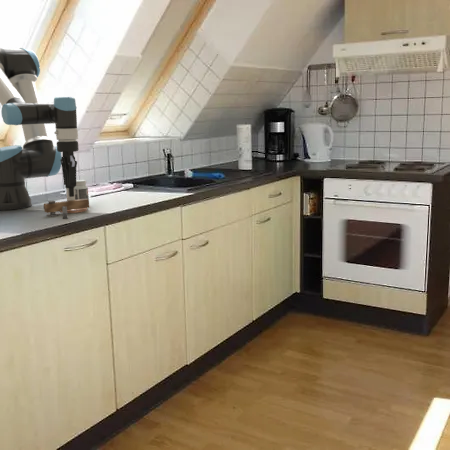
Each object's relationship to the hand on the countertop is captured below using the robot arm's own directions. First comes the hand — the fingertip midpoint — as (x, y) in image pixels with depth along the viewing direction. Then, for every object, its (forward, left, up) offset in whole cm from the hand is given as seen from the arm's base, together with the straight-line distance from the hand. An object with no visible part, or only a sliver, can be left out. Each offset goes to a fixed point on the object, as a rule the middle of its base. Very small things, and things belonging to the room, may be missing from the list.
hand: (71, 205), depth 216 cm
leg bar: (+1, -3, -1) cm, 3 cm away
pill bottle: (-6, +11, -3) cm, 13 cm away
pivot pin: (-1, -8, -2) cm, 9 cm away
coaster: (-1, +2, -2) cm, 3 cm away
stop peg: (+8, -11, -2) cm, 14 cm away
